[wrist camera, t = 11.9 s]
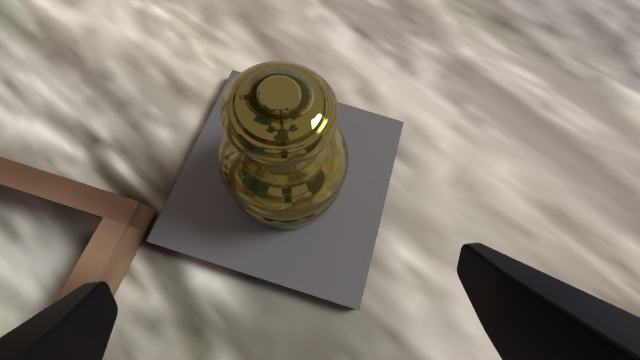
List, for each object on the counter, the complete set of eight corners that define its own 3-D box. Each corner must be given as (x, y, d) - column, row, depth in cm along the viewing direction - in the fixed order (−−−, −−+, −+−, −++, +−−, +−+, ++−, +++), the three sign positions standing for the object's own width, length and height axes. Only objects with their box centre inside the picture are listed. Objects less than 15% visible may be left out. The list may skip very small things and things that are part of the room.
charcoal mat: (355, 309, 20) (359, 310, 19) (153, 243, 20) (146, 241, 19) (399, 128, 24) (403, 122, 23) (234, 78, 25) (232, 70, 24)
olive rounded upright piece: (256, 119, 22) (228, -2, 13) (351, 151, 22) (393, 51, 13) (213, 210, 20) (140, 142, 11) (320, 247, 20) (342, 212, 10)
